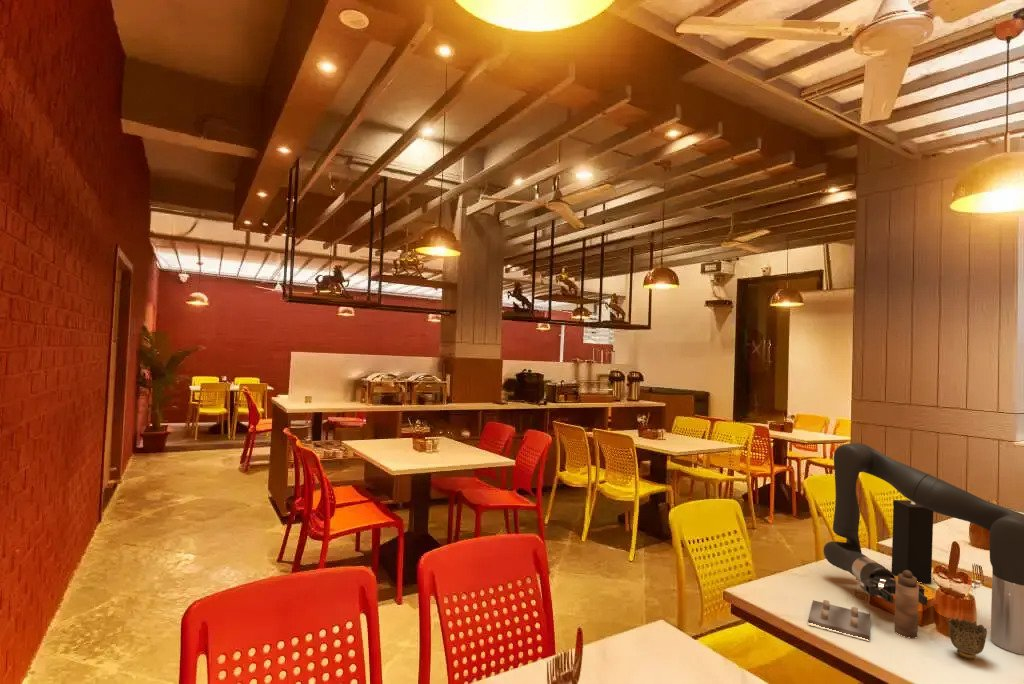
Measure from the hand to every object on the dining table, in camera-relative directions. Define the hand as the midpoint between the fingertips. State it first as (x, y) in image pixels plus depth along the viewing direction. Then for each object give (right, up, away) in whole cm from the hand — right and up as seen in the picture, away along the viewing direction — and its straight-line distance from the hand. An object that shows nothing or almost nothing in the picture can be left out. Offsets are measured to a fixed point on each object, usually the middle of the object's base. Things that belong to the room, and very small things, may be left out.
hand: (908, 600), depth 147 cm
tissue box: (+26, -10, +36) cm, 46 cm away
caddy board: (-15, -9, +6) cm, 18 cm away
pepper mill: (0, -9, +1) cm, 9 cm away
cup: (+7, -9, -10) cm, 15 cm away
